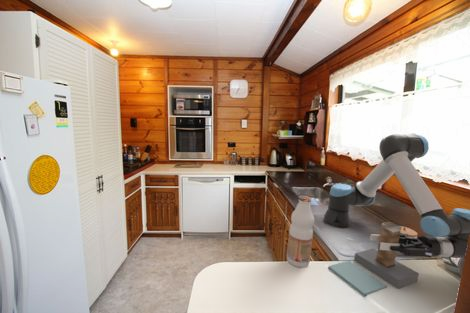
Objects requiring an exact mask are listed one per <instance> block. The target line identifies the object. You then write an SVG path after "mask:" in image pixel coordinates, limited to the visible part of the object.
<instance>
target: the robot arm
mask: <svg viewBox="0 0 470 313" xmlns="http://www.w3.org/2000/svg"><path fill="white" fill-rule="evenodd" d="M429 147H430V146H429V141H428V139H427V138H426V137H425V136H423V135H421V134H417V133H404V132H403V133H402V132H390V133H388V134H386V135H384V137H383V138H382V139H381V140H380V143H379V153H380V156H381V161H379V163H378V164H377V165H376V166H375V167H374V168H373V169H372V170H371V172H369V174H368V175H366V177H365V178H364V179H363V180H361V181H359V180H358V181H357V182H356V184H355V185H354V186H351V185H350V184H345V183H336V184H335V183H334V184H333V185H332V186H331V187H330V191H329V199H328V205H327V209H326V211H325V214H324V215H323V221H324V223H325V224H327V225H329V226H331V227H335V228H339V229H347V228H350V227H351V223H352V222H351V219H350V207H368V206H371V205H372V204H373V203H374V202H375V200H376V195H377V192H376V191H377V190H379V188H381V186H383V185H384V184H385V183H386V182H387V181H388V180H389V179H390V178H391V177H392V176H393V175H395V176H396V178H397V180H398V181H399V183H400V184H401V186H402V188H403V189H404V191H405V193H406V194H407V196H408V197H409V200H410V201H411V202H412V204H413V206H414V207H415V209H416V210H417V212H418V214H419V216H420V217H421V219H420V222H419V224H420V225H419V226H420V228H421V230H422V232H423V233H424V234H426V235H421V236H419V237H417V238H410V237H408V234H400V237H399V242H398V243H399V244H400V246H399V244H395V243H382V242H381V244H380V250H388V251H397V252H398V253H402V254H403V255H404V256H409V257H411V256H412V257H426V258H432V257H439V258H440V257H441V258H442V257H444V258H451V259H452V258H454V259H462V258H464V256H465V253H466V248H467V243H468V238H469V235H470V209H466V208H459V207H457V208H453V210H452V212H451V214H447V213H446V211H444V209H443V208H442V206H441V205H440V202H439V201H438V200H437V198H436V197H435V196H434V194H433V193H432V191H431V190H430V188H429V187H428V185H427V184H426V182H425V181H424V179H423V178H422V176H421V174H420V173H419V172H418V170H417V169H416V167H415V166H414V164H413V161H414V160H415V159H420V158H423V157H424V156H426V155H427V154H428V152H429V150H430V149H429ZM380 235H381V234H374V233H370V236H369V238H370V239H369V241H370V242H377V243H379V240H380ZM407 240H408V241H407ZM403 244H404V245H403Z"/></svg>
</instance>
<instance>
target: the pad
mask: <svg viewBox="0 0 470 313" xmlns="http://www.w3.org/2000/svg"><path fill="white" fill-rule="evenodd" d="M327 267H328V270H329V271H331V272H333V274H335V275H336V276H337V277H338V278H340V279H341V280H342V281H343V282H345V283H346V284H348V285H349V286H350V287H351V288H353V289H354V290H355V291H357V292H358V293H359V294H361V295H362V296H363V297H367V296H368V295H370V294H372V293H375V292H377V291H380V290H383V289H386V288H387V287H388V285H386V284H385V283H383V282H382V281H381V280H380V279H378V278H376V277H375V276H373V275H371V274H370V273H369V272H367V271H366V270H364V269H363V268H361V267H359V266H358V265H357V264H355V263H354V262H352V261H350V260H347V261H346V260H345V261H343V262H338V263H335V264H331V265H328V266H327Z"/></svg>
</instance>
